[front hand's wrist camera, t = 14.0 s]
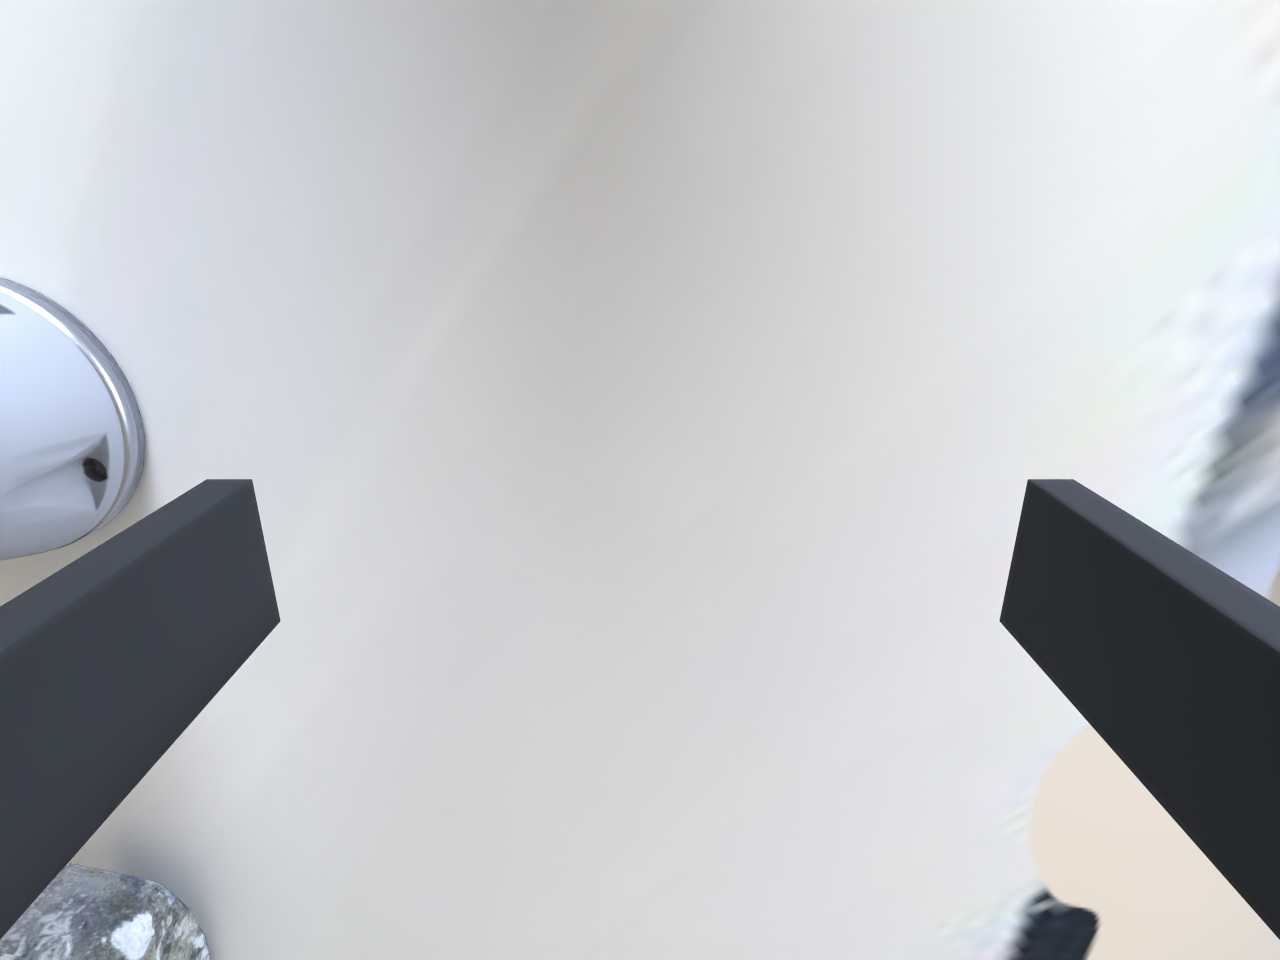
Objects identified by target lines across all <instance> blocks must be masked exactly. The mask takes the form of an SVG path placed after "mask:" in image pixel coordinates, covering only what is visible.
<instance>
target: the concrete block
mask: <svg viewBox="0 0 1280 960" xmlns="http://www.w3.org/2000/svg"><path fill="white" fill-rule="evenodd" d="M0 960H210V954H209V950H208V945H207V942H206V939H205V936H204V934H203V931H202V930H201V929H200V927H199V925H198V924H197V922H196V919H195V918H194V916H193V915H192V913H191V912H190V910H189V909H188V908H187V907H186V906H185V905H184V904H183V903H182V902H181V901H180V900H179V899H178V898H177V897H175V896H174V895H173V893H172V892H171V891H170V890H168V889H167V888H165V887H164V886H163V885H161V884H159V883H157V882H155V881H150V880H146V879H141V878H137V877H133V876H128V875H124V874H119V873H115V872H110V871H106V870H101V869H95V868H89V867H84V866H81V865H78V864H69V865H67V866H65V867H64V868H63V869H62V870H61V871H60V872H59V873H58V875H57V876H56V877H55V878H54V879H53V880H52V881H51V883H50V884H49V885H48V886H47V887H46V888H45V889H44V891H43V892H42V893H41V894H40V895H39V896H38V897H37V899H36V900H35V901H34V902H33V903H32V904H31V905H30V906H29V908H28V909H27V910H26V911H25V912H24V913H23V914H22V916H21V917H20V918H19V919H18V920H17V921H16V922H15V924H14V925H13V926H12V927H11V928H10V929H9V930H8V931H7V933H6V934H5V935H4V936H3V937H2V938H1V939H0Z"/></svg>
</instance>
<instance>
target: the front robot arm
mask: <svg viewBox="0 0 1280 960" xmlns="http://www.w3.org/2000/svg"><path fill="white" fill-rule="evenodd" d="M144 450H145V447H144V432H143V424H142V420H141V416H140V411H139V408H138V405H137V402H136V399H135V397H134V394H133V392H132V390H131V387H130V385H129V383H128V381H127V379H126V378H125V376H124V374H123V372H122V370H121V369H120V367H119V366H118V364H117V363H116V361H115V360H114V358H113V357H112V356H111V354H110V353H109V352H108V350H107V349H106V348H105V346H104V345H103V344H102V343H101V342H100V341H99V340H98V339H97V337H96V336H95V335H94V334H93V333H92V332H91V331H90V330H89V329H88V328H87V327H86V326H84V325H83V324H82V323H81V322H80V321H79V320H78V319H76V318H75V317H74V316H73V315H72V314H70V313H69V312H68V311H66V310H65V309H64V308H62V307H61V306H59V305H58V304H56V303H55V302H53V301H52V300H50V299H48V298H47V297H45V296H43V295H42V294H40V293H38V292H36V291H34V290H32V289H30V288H28V287H25V286H23V285H20V284H18V283H15V282H13V281H10V280H7V279H4V278H0V560H5V559H11V558H17V557H22V556H28V555H34V554H39V553H43V552H47V551H50V550H54V549H58V548H61V547H64V546H66V545H69V544H71V543H74V542H75V541H77V540H79V539H81V538H83V537H84V536H86V535H88V534H90V533H91V532H93V531H95V530H96V529H98V528H100V527H102V526H103V525H105V524H106V523H107V522H109V521H110V520H112V519H113V518H114V517H115V516H116V515H117V514H118V513H119V512H120V511H121V510H122V509H123V508H124V506H125V505H126V504H127V503H128V501H129V499H130V498H131V496H132V495H133V493H134V491H135V489H136V487H137V484H138V482H139V479H140V476H141V472H142V467H143V462H144ZM279 622H280V616H279V611H278V607H277V602H276V597H275V592H274V587H273V582H272V577H271V572H270V567H269V562H268V557H267V552H266V547H265V542H264V537H263V532H262V527H261V522H260V517H259V512H258V507H257V502H256V497H255V492H254V487H253V482H252V479H207V480H205V481H203V482H202V483H200V484H199V485H197V486H195V487H194V488H192V489H191V490H189V491H187V492H186V493H184V494H182V495H181V496H179V497H178V498H176V499H174V500H173V501H171V502H169V503H168V504H166V505H165V506H163V507H161V508H160V509H158V510H156V511H155V512H153V513H152V514H150V515H148V516H147V517H145V518H144V519H142V520H140V521H139V522H137V523H135V524H134V525H132V526H131V527H129V528H127V529H126V530H124V531H122V532H121V533H119V534H118V535H116V536H114V537H113V538H111V539H109V540H108V541H106V542H105V543H103V544H101V545H100V546H98V547H97V548H95V549H93V550H92V551H90V552H88V553H87V554H85V555H84V556H82V557H80V558H79V559H77V560H75V561H74V562H72V563H71V564H69V565H67V566H66V567H64V568H62V569H61V570H59V571H58V572H56V573H54V574H53V575H51V576H50V577H48V578H46V579H45V580H43V581H41V582H40V583H38V584H37V585H35V586H33V587H32V588H30V589H28V590H27V591H25V592H24V593H22V594H20V595H19V596H17V597H15V598H14V599H12V600H11V601H9V602H7V603H6V604H4V605H3V606H1V607H0V939H1V938H2V937H3V936H4V935H5V934H6V933H7V931H8V930H9V929H10V928H11V927H12V926H13V925H14V924H15V922H16V921H17V920H18V919H19V918H20V917H21V916H22V914H23V913H24V912H25V911H26V910H27V909H28V908H29V906H30V905H31V904H32V903H33V902H34V901H35V900H36V899H37V897H38V896H39V895H40V894H41V893H42V892H43V891H44V889H45V888H46V887H47V886H48V885H49V884H50V883H51V881H52V880H53V879H54V878H55V877H56V876H57V875H58V873H59V872H60V871H61V870H62V869H63V868H64V867H65V866H66V864H67V863H68V862H69V861H70V860H71V859H72V858H73V856H74V855H75V854H76V853H77V852H78V851H79V850H80V848H81V847H82V846H83V845H84V844H85V843H86V842H87V841H88V839H89V838H90V837H91V836H92V835H93V834H94V833H95V831H96V830H97V829H98V828H99V827H100V826H101V825H102V823H103V822H104V821H105V820H106V819H107V818H108V817H109V815H110V814H111V813H112V812H113V811H114V810H115V809H116V808H117V806H118V805H119V804H120V803H121V802H122V801H123V800H124V798H125V797H126V796H127V795H128V794H129V793H130V792H131V790H132V789H133V788H134V787H135V786H136V785H137V784H138V783H139V781H140V780H141V779H142V778H143V777H144V776H145V775H146V773H147V772H148V771H149V770H150V769H151V768H152V767H153V765H154V764H155V763H156V762H157V761H158V760H159V759H160V757H161V756H162V755H163V754H164V753H165V752H166V751H167V750H168V748H169V747H170V746H171V745H172V744H173V743H174V742H175V740H176V739H177V738H178V737H179V736H180V735H181V734H182V732H183V731H184V730H185V729H186V728H187V727H188V726H189V725H190V723H191V722H192V721H193V720H194V719H195V718H196V717H197V715H198V714H199V713H200V712H201V711H202V710H203V709H204V707H205V706H206V705H207V704H208V703H209V702H210V701H211V699H212V698H213V697H214V696H215V695H216V694H217V693H218V692H219V690H220V689H221V688H222V687H223V686H224V685H225V684H226V682H227V681H228V680H229V679H230V678H231V677H232V676H233V674H234V673H235V672H236V671H237V670H238V669H239V668H240V667H241V665H242V664H243V663H244V662H245V661H246V660H247V659H248V657H249V656H250V655H251V654H252V653H253V652H254V651H255V649H256V648H257V647H258V646H259V645H260V644H261V643H262V641H263V640H264V639H265V638H266V637H267V636H268V635H269V634H270V632H271V631H272V630H273V629H274V628H275V627H276V626H277V624H278V623H279ZM1000 622H1001V623H1002V624H1003V626H1004V627H1005V628H1006V629H1007V630H1008V631H1009V632H1010V634H1011V635H1012V636H1013V637H1014V638H1015V639H1016V640H1017V641H1018V643H1019V644H1020V645H1021V646H1022V647H1023V648H1024V649H1025V651H1026V652H1027V653H1028V654H1029V655H1030V656H1031V657H1032V659H1033V660H1034V661H1035V662H1036V663H1037V664H1038V665H1039V667H1040V668H1041V669H1042V670H1043V671H1044V672H1045V673H1046V674H1047V676H1048V677H1049V678H1050V679H1051V680H1052V681H1053V682H1054V684H1055V685H1056V686H1057V687H1058V688H1059V689H1060V690H1061V692H1062V693H1063V694H1064V695H1065V696H1066V697H1067V698H1068V699H1069V701H1070V702H1071V703H1072V704H1073V705H1074V706H1075V707H1076V709H1077V710H1078V711H1079V712H1080V713H1081V714H1082V715H1083V717H1084V718H1085V719H1086V720H1087V721H1088V722H1089V723H1090V725H1091V726H1092V727H1093V728H1094V729H1095V730H1096V731H1097V732H1098V734H1099V735H1100V736H1101V737H1102V738H1103V739H1104V740H1105V742H1106V743H1107V744H1108V745H1109V746H1110V747H1111V748H1112V750H1113V751H1114V752H1115V753H1116V754H1117V755H1118V756H1119V757H1120V759H1121V760H1122V761H1123V762H1124V763H1125V764H1126V765H1127V767H1128V768H1129V769H1130V770H1131V771H1132V772H1133V773H1134V775H1135V776H1136V777H1137V778H1138V779H1139V780H1140V781H1141V783H1142V784H1143V785H1144V786H1145V787H1146V788H1147V789H1148V790H1149V792H1150V793H1151V794H1152V795H1153V796H1154V797H1155V798H1156V800H1157V801H1158V802H1159V803H1160V804H1161V805H1162V806H1163V808H1164V809H1165V810H1166V811H1167V812H1168V813H1169V814H1170V815H1171V817H1172V818H1173V819H1174V820H1175V821H1176V822H1177V823H1178V825H1179V826H1180V827H1181V828H1182V829H1183V830H1184V831H1185V833H1186V834H1187V835H1188V836H1189V837H1190V838H1191V839H1192V841H1193V842H1194V843H1195V844H1196V845H1197V846H1198V847H1199V848H1200V850H1201V851H1202V852H1203V853H1204V854H1205V855H1206V856H1207V858H1208V859H1209V860H1210V861H1211V862H1212V863H1213V864H1214V866H1215V867H1216V868H1217V869H1218V870H1219V871H1220V872H1221V873H1222V875H1223V876H1224V877H1225V878H1226V879H1227V880H1228V881H1229V883H1230V884H1231V885H1232V886H1233V887H1234V888H1235V889H1236V890H1237V892H1238V893H1239V894H1240V895H1241V896H1242V897H1243V899H1244V900H1245V901H1246V902H1247V903H1248V904H1249V905H1250V906H1251V908H1252V909H1253V910H1254V911H1255V912H1256V913H1257V914H1258V916H1259V917H1260V918H1261V919H1262V920H1263V921H1264V922H1265V923H1266V925H1267V926H1268V927H1269V928H1270V929H1271V930H1272V931H1273V933H1274V934H1275V935H1276V936H1277V937H1278V938H1279V939H1280V607H1279V606H1277V605H1276V604H1274V603H1273V602H1271V601H1269V600H1268V599H1266V598H1265V597H1263V596H1261V595H1260V594H1258V593H1256V592H1255V591H1253V590H1252V589H1250V588H1248V587H1247V586H1245V585H1243V584H1242V583H1240V582H1239V581H1237V580H1235V579H1234V578H1232V577H1230V576H1229V575H1227V574H1226V573H1224V572H1222V571H1221V570H1219V569H1218V568H1216V567H1214V566H1213V565H1211V564H1209V563H1208V562H1206V561H1205V560H1203V559H1201V558H1200V557H1198V556H1196V555H1195V554H1193V553H1192V552H1190V551H1188V550H1187V549H1185V548H1183V547H1182V546H1180V545H1179V544H1177V543H1175V542H1174V541H1172V540H1171V539H1169V538H1167V537H1166V536H1164V535H1162V534H1161V533H1159V532H1158V531H1156V530H1154V529H1153V528H1151V527H1149V526H1148V525H1146V524H1145V523H1143V522H1141V521H1140V520H1138V519H1136V518H1135V517H1133V516H1132V515H1130V514H1128V513H1127V512H1125V511H1124V510H1122V509H1120V508H1119V507H1117V506H1115V505H1114V504H1112V503H1111V502H1109V501H1107V500H1106V499H1104V498H1102V497H1101V496H1099V495H1098V494H1096V493H1094V492H1093V491H1091V490H1089V489H1088V488H1086V487H1085V486H1083V485H1081V484H1080V483H1078V482H1077V481H1075V480H1073V479H1028V482H1027V487H1026V492H1025V497H1024V502H1023V507H1022V512H1021V517H1020V522H1019V527H1018V532H1017V537H1016V542H1015V547H1014V552H1013V557H1012V562H1011V567H1010V572H1009V577H1008V582H1007V587H1006V592H1005V597H1004V602H1003V607H1002V611H1001V616H1000Z"/></svg>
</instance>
